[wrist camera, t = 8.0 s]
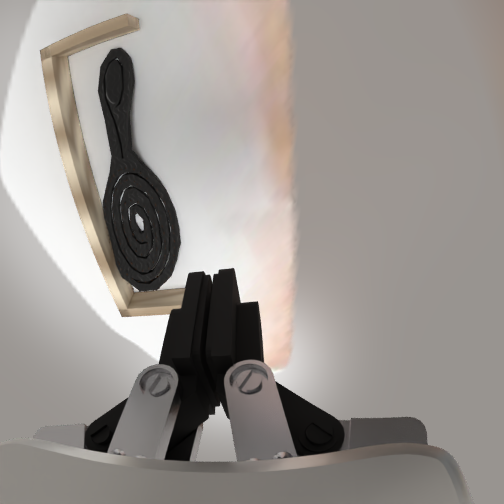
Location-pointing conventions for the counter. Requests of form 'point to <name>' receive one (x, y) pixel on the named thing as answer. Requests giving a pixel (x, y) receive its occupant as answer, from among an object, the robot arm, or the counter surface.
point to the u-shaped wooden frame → (80, 168)
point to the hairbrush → (133, 189)
